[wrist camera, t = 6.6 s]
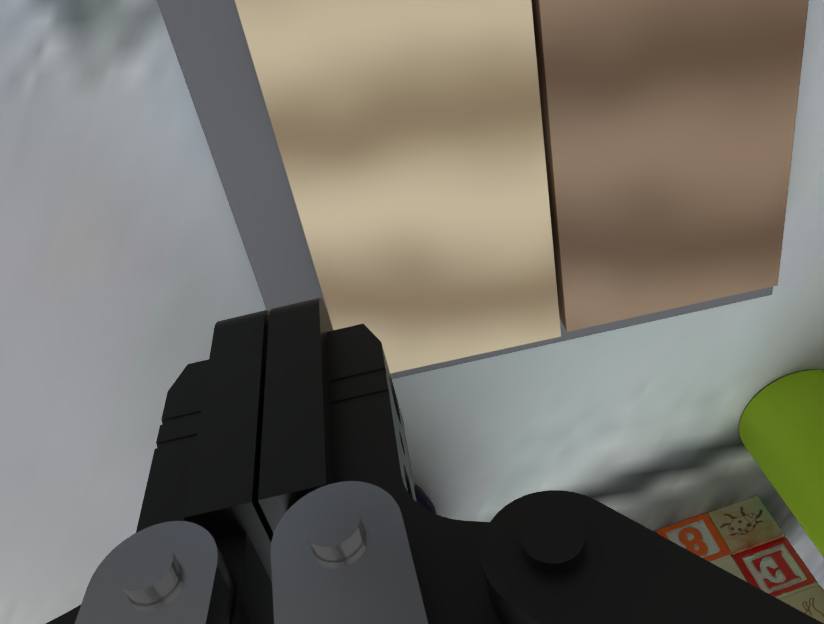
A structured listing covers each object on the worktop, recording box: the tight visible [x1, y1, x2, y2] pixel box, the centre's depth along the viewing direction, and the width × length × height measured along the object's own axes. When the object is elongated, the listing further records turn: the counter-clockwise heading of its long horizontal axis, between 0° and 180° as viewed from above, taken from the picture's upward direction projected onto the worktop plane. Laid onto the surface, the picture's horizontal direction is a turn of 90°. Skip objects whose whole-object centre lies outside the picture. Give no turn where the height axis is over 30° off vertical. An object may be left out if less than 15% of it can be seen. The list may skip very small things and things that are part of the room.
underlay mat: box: [157, 0, 773, 379], centre depth 27 cm, size 26×22×1 cm
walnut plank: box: [531, 0, 809, 332], centre depth 26 cm, size 22×9×2 cm, turn 10°
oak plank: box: [235, 0, 561, 373], centre depth 26 cm, size 22×9×2 cm, turn 10°
